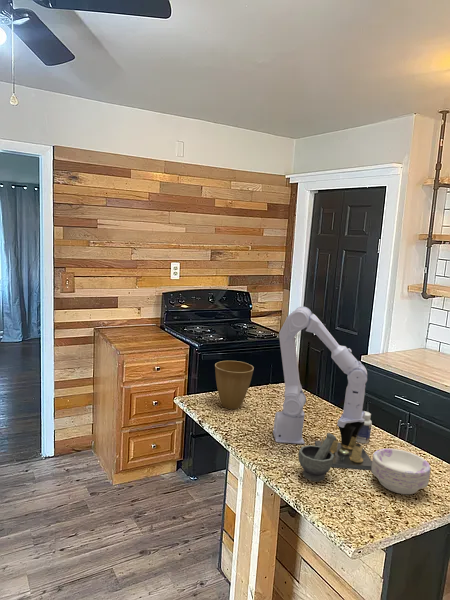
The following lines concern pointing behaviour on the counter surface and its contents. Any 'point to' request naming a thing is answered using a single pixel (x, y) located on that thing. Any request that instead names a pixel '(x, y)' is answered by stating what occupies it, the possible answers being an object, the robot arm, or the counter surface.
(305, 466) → the mortar and pestle
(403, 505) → the counter surface
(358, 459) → the knob near
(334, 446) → the knob left
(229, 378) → the plant pot
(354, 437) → the knob far
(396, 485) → the paper bowls
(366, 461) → the base plate
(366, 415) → the pill bottle
